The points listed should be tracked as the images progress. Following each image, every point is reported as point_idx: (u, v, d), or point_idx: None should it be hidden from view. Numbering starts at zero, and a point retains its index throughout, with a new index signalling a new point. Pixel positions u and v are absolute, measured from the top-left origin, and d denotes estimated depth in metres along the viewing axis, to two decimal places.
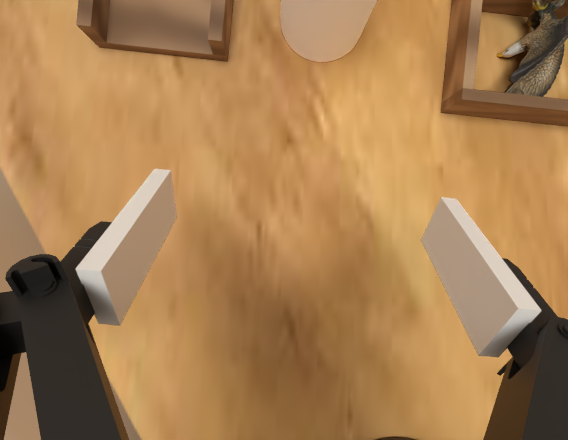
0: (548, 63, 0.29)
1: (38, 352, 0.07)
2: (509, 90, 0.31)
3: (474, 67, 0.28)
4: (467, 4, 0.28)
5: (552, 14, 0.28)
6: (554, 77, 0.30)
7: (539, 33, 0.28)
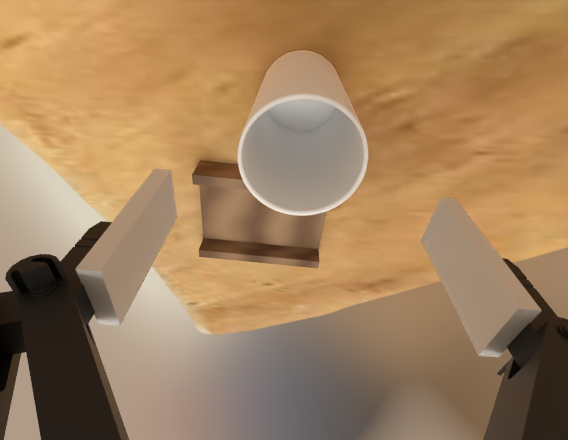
0: None
1: (38, 352, 0.07)
2: None
3: None
4: None
5: None
6: None
7: None
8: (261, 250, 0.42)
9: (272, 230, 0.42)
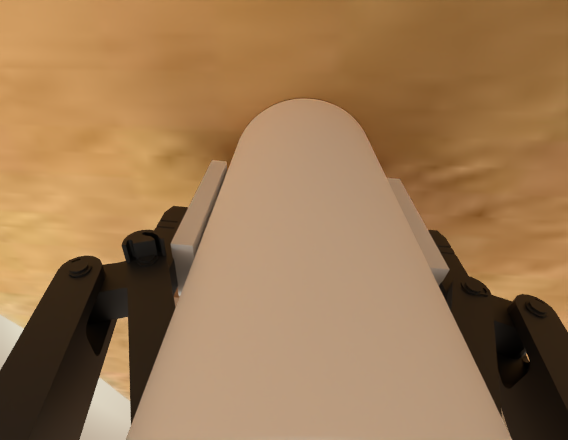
0: None
1: (136, 314, 0.08)
2: None
3: None
4: None
5: None
6: None
7: None
8: None
9: None
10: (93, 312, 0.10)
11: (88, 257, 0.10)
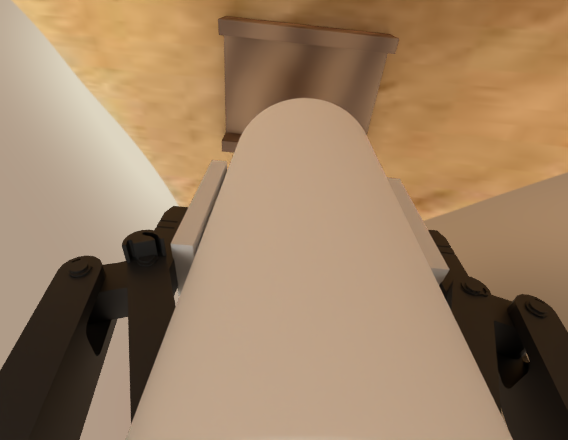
0: None
1: (136, 314, 0.08)
2: None
3: None
4: None
5: None
6: None
7: None
8: None
9: None
10: (93, 312, 0.10)
11: (88, 257, 0.10)
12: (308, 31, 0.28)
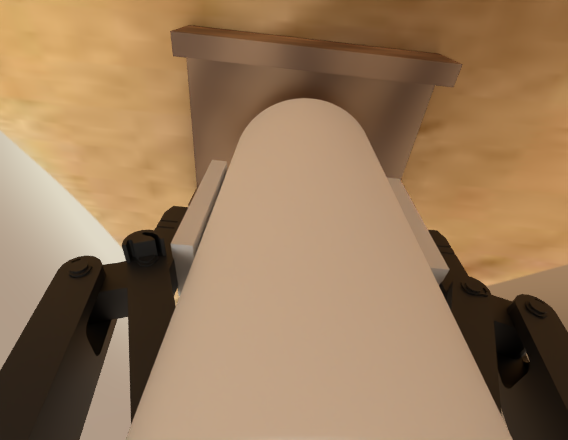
0: None
1: (136, 314, 0.08)
2: None
3: None
4: None
5: None
6: None
7: None
8: None
9: None
10: (93, 312, 0.10)
11: (88, 257, 0.10)
12: (316, 52, 0.17)
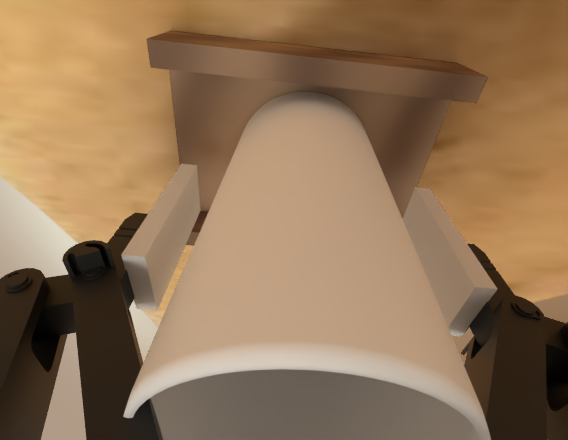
0: None
1: (86, 331, 0.08)
2: None
3: None
4: None
5: None
6: None
7: None
8: None
9: None
10: (39, 327, 0.09)
11: (27, 270, 0.09)
12: (317, 63, 0.15)
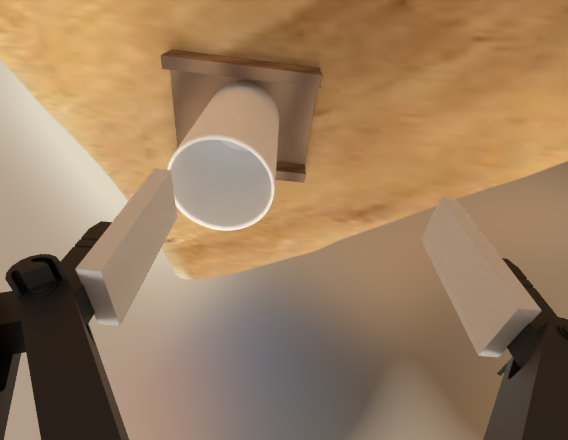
0: None
1: (38, 352, 0.07)
2: None
3: None
4: None
5: None
6: None
7: None
8: None
9: None
10: None
11: None
12: (242, 67, 0.31)
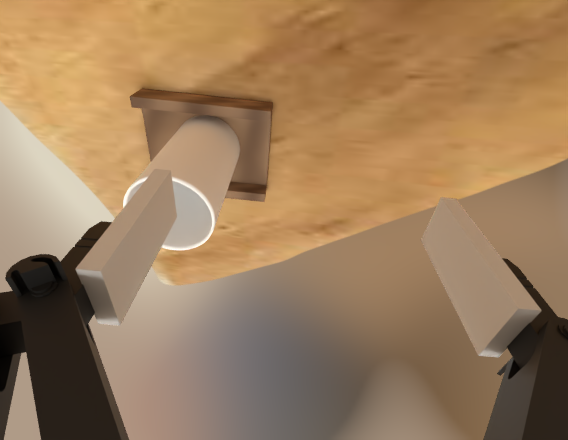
0: None
1: (38, 352, 0.07)
2: None
3: None
4: None
5: None
6: None
7: None
8: None
9: None
10: None
11: None
12: (200, 106, 0.36)
